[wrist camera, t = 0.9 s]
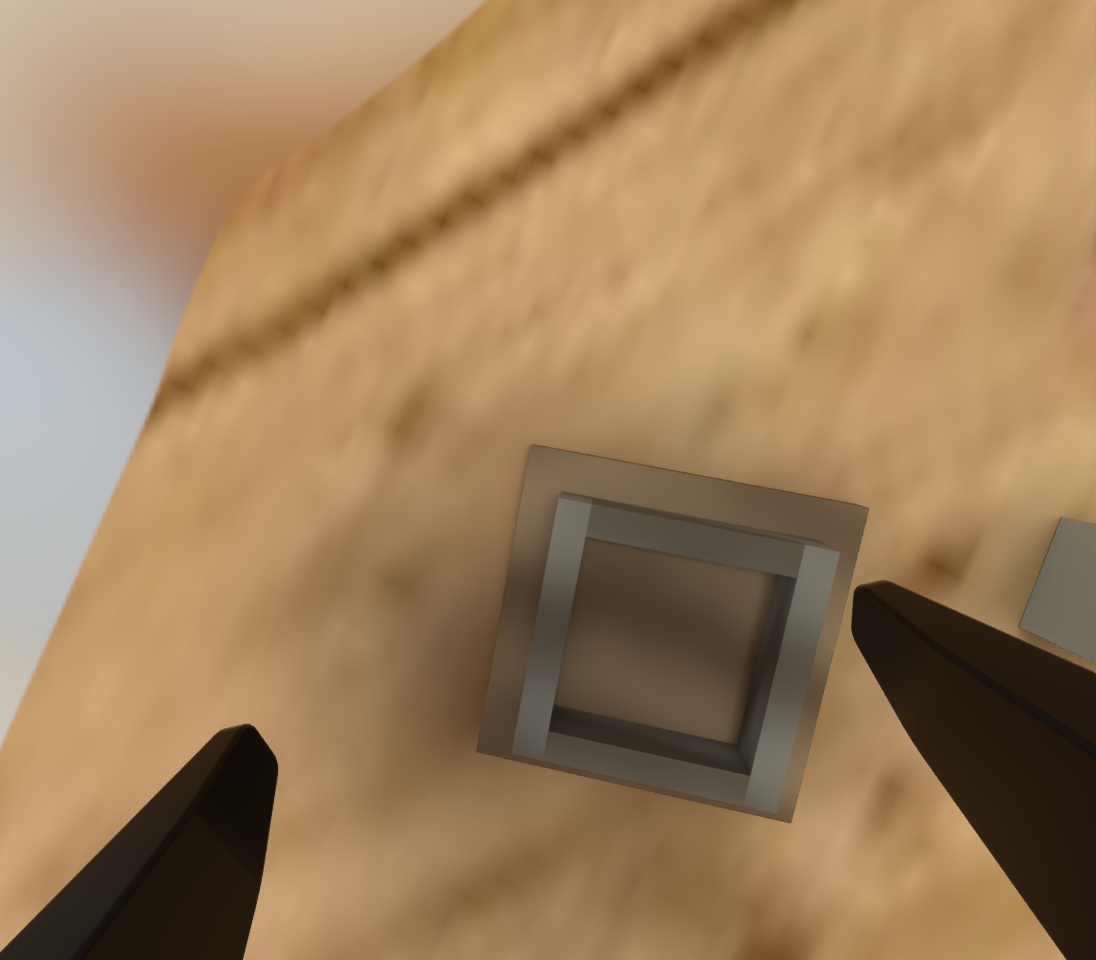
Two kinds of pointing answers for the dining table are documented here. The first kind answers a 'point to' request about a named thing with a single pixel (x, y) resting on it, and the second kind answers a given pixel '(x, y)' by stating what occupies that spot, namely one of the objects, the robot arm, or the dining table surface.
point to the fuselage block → (1067, 591)
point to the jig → (668, 630)
